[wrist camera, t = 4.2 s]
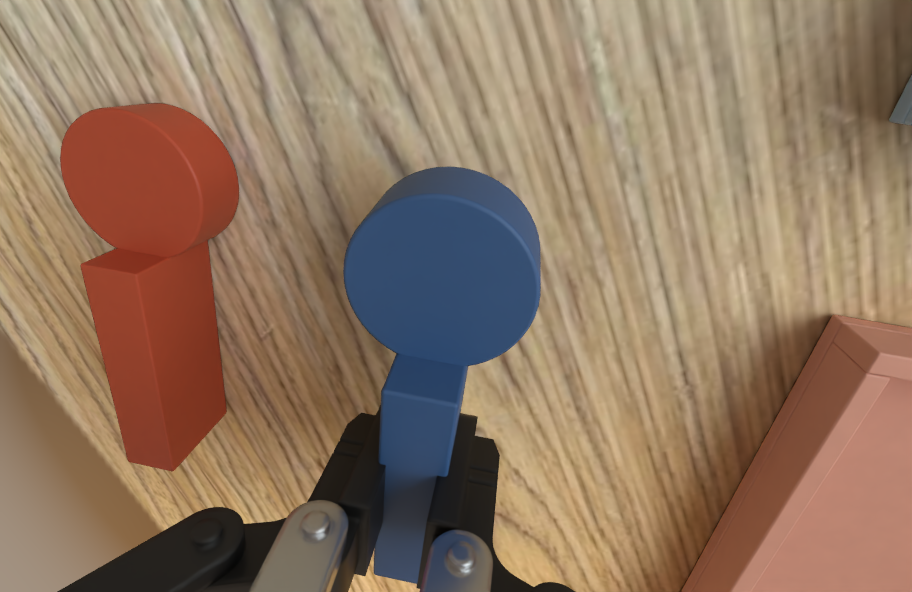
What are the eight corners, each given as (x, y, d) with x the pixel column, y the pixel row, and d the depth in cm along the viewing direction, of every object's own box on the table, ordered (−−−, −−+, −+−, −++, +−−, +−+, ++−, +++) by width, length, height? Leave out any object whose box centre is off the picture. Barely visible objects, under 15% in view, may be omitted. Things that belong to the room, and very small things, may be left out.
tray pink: (918, 696, 19) (958, 761, 17) (656, 634, 20) (668, 691, 18) (1252, 387, 12) (1377, 442, 10) (832, 313, 13) (878, 352, 11)
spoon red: (257, 418, 18) (208, 480, 15) (158, 397, 18) (93, 454, 16) (235, 114, 13) (157, 126, 10) (100, 92, 13) (-8, 99, 11)
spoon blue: (482, 501, 16) (472, 597, 13) (363, 476, 16) (330, 566, 13) (558, 181, 10) (565, 243, 7) (370, 151, 10) (314, 201, 8)
